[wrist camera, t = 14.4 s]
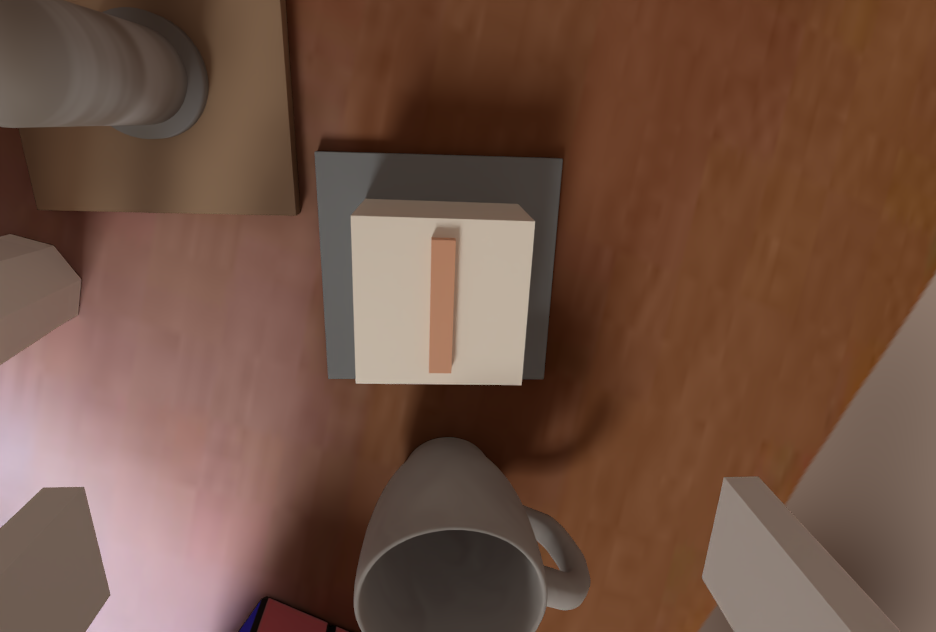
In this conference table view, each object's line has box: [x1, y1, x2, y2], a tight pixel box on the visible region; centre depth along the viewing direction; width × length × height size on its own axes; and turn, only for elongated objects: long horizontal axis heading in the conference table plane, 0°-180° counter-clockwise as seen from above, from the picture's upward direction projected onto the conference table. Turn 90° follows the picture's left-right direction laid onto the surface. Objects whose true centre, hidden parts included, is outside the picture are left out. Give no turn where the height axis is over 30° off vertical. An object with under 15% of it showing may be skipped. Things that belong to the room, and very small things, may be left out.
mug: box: [354, 437, 590, 632], centre depth 29 cm, size 12×9×10 cm
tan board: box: [0, 0, 301, 216], centre depth 20 cm, size 12×12×10 cm
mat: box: [315, 151, 563, 379], centre depth 29 cm, size 12×12×1 cm
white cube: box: [351, 199, 535, 385], centre depth 26 cm, size 8×8×6 cm
